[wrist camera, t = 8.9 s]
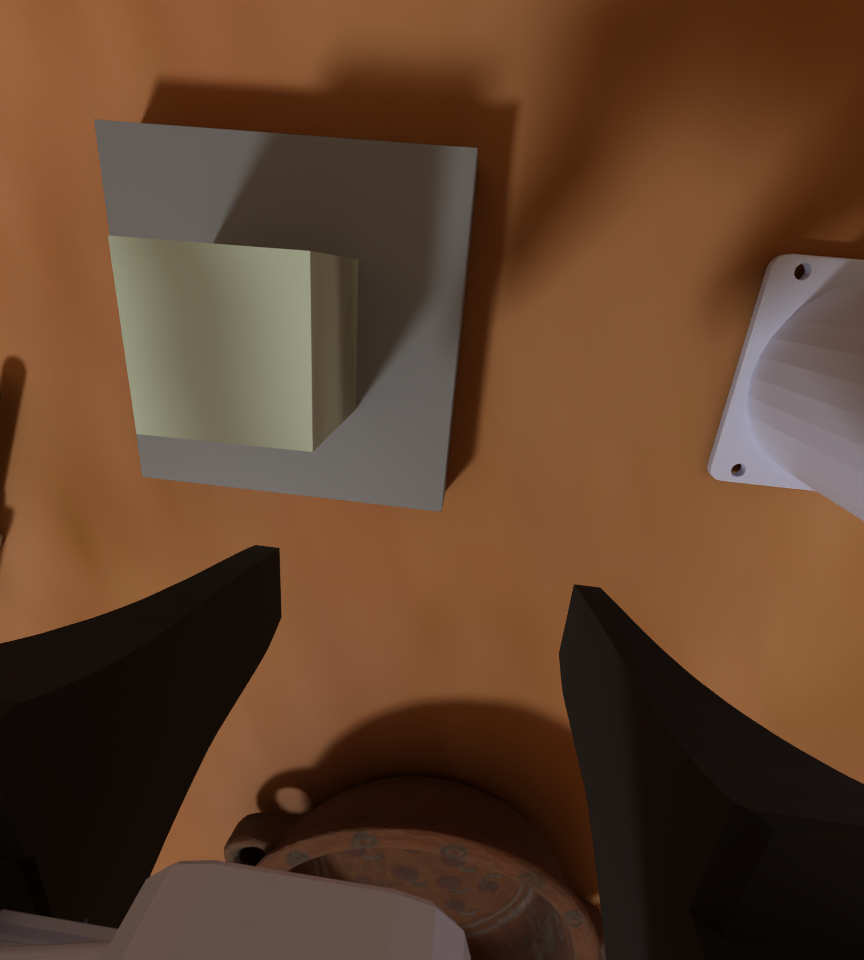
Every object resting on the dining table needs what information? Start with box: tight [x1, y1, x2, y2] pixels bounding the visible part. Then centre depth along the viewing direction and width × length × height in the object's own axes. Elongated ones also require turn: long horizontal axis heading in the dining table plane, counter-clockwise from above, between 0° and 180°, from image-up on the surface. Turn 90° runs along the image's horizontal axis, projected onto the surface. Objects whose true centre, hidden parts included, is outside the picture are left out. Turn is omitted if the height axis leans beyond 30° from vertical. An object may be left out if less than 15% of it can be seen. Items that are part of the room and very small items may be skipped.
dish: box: [224, 776, 606, 960], centre depth 28 cm, size 18×22×5 cm
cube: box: [108, 236, 359, 452], centre depth 15 cm, size 5×5×5 cm
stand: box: [94, 120, 478, 512], centre depth 19 cm, size 12×12×2 cm
